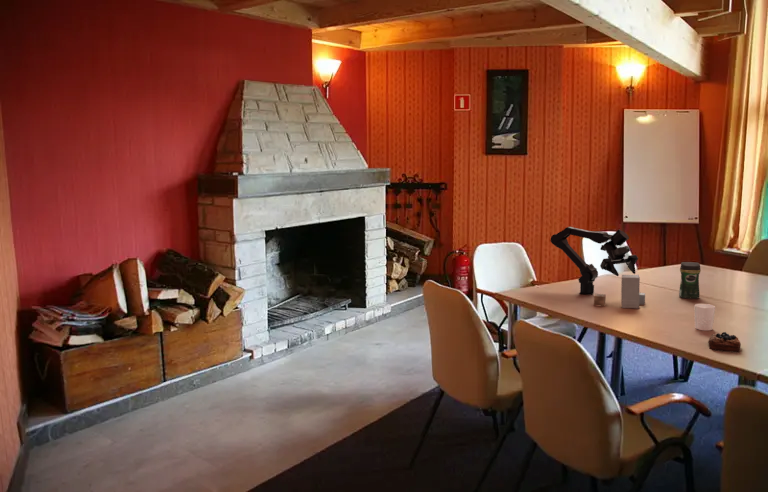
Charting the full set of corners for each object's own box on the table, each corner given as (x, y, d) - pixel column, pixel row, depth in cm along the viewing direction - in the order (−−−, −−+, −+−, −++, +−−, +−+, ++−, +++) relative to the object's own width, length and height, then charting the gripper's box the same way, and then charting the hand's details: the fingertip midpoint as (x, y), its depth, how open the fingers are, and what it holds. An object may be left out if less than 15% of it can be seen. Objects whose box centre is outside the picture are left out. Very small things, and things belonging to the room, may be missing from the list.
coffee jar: (698, 296, 327) (700, 261, 324) (700, 299, 320) (702, 263, 317) (677, 295, 330) (679, 260, 327) (679, 298, 323) (681, 263, 320)
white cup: (689, 326, 272) (690, 303, 270) (706, 325, 272) (708, 303, 271) (700, 331, 264) (701, 308, 263) (717, 330, 265) (719, 307, 263)
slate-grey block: (633, 304, 313) (634, 294, 312) (634, 301, 318) (634, 292, 317) (644, 305, 311) (644, 295, 310) (644, 302, 316) (645, 293, 315)
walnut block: (593, 305, 311) (594, 295, 311) (594, 303, 316) (595, 293, 315) (604, 306, 309) (604, 296, 309) (605, 304, 314) (605, 294, 313)
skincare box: (638, 305, 309) (639, 274, 307) (639, 309, 302) (640, 277, 300) (620, 304, 312) (621, 273, 309) (620, 308, 305) (621, 276, 303)
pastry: (709, 350, 239) (710, 336, 238) (707, 342, 250) (707, 327, 249) (742, 354, 235) (743, 339, 234) (738, 345, 246) (739, 330, 245)
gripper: (601, 243, 316) (615, 266, 306) (634, 239, 320) (649, 262, 310) (594, 257, 325) (607, 280, 315) (627, 253, 328) (641, 276, 318)
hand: (626, 274), depth 314 cm, fingers open, 9 cm apart
